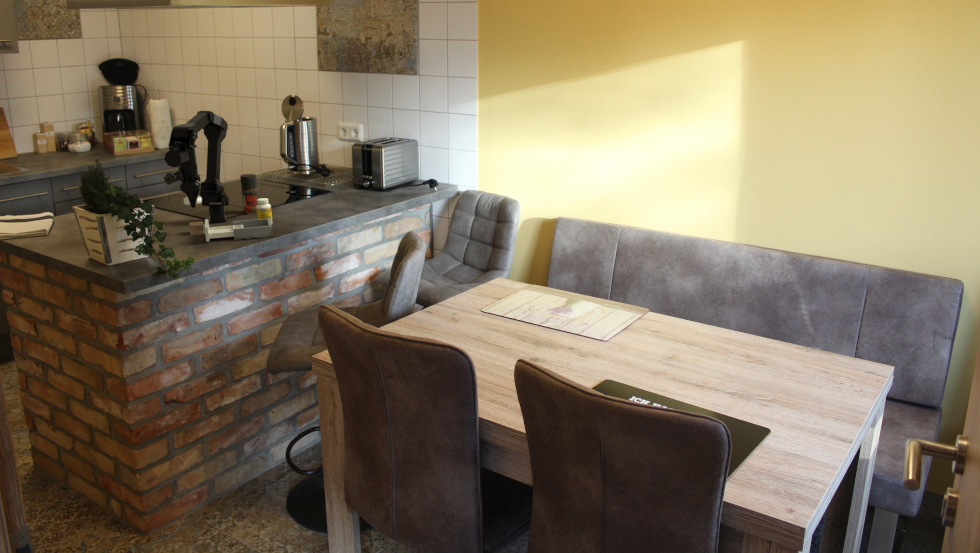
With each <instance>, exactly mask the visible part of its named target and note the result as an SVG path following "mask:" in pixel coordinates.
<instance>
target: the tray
mask: <svg viewBox="0 0 980 553" xmlns="http://www.w3.org/2000/svg"><path fill="white" fill-rule="evenodd" d="M237 228H243V225H233V224H232V225H223V226H211V227H210V223H209V218H206V219H204V234H203V235H205V241H206V242H210V239H221V238H233V237H234V231H233V229H237Z"/></svg>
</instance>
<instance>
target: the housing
mask: <svg viewBox="0 0 980 553" xmlns="http://www.w3.org/2000/svg"><path fill="white" fill-rule="evenodd" d="M233 225H243V228H237V229H233V231H234V241H242V240H241V239H246V240H252V239H251V238H258V239H268V238H274V234H273V223H272V224H271V221H270V218H268V219H258V218H257V219H256V218H255V219H246V220H245V219H244V220H233V221H232V226H233Z"/></svg>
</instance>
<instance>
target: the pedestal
mask: <svg viewBox="0 0 980 553" xmlns="http://www.w3.org/2000/svg"><path fill="white" fill-rule="evenodd" d="M188 227H189V233H190V236H195V235H194V234H196V235H205V234H204V230H205V224H204V221H193V222H189V225H188Z"/></svg>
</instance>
